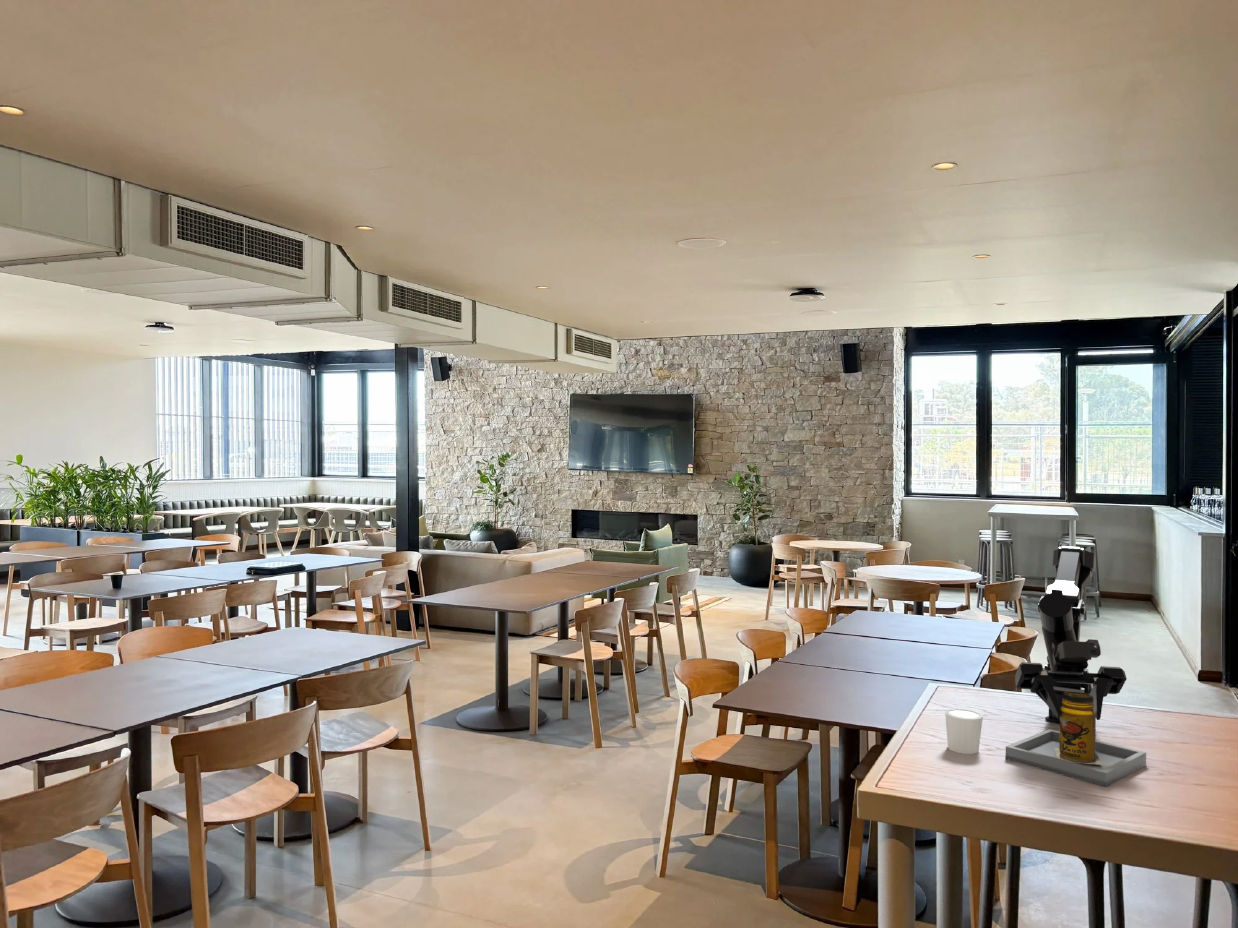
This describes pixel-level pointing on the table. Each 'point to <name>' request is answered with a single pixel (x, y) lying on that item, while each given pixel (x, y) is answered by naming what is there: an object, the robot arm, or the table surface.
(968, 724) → the shot glass
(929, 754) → the table surface
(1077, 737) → the condiment
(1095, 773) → the tray
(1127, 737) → the table surface
